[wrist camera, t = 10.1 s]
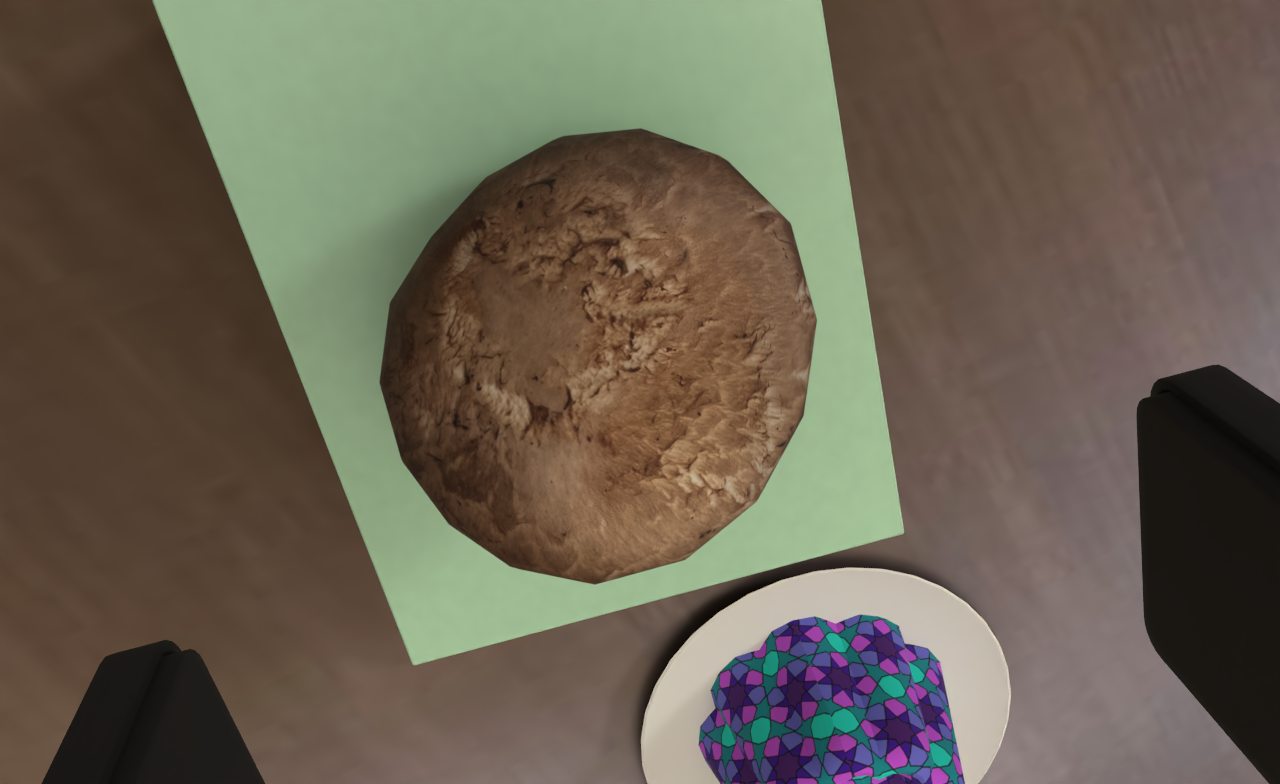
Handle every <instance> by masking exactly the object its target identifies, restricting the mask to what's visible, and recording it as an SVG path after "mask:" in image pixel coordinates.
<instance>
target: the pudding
mask: <svg viewBox="0 0 1280 784" xmlns="http://www.w3.org/2000/svg"><path fill="white" fill-rule="evenodd" d="M1010 699H1011V690H1010V681H1009V672H1008V667H1007V664H1006V661H1005V658H1004V655H1003V652H1002V649H1001V647H1000V644H999V642H998V641H997V639H996V638H995V636H994V634H993V633H992V631H991V630H990V628H989V626H988V625H987V623H986V622H985V621H984V620H983V619H982V618H981V617H980V616H979V615H978V614H977V613H976V612H975V611H974V610H973V609H972V608H971V607H970V606H969V605H968V604H967V603H966V602H965V601H963V600H962V599H960V598H959V597H957V596H956V595H954V594H953V593H951V592H949V591H948V590H946V589H945V588H943V587H941V586H939V585H937V584H934V583H932V582H929V581H927V580H924V579H922V578H919V577H917V576H914V575H910V574H905V573H900V572H895V571H891V570H886V569H874V568H850V567H849V568H840V569H831V570H822V571H814V572H810V573H807V574H803V575H799V576H795V577H791V578H788V579H784V580H780V581H778V582H776V583H773V584H771V585H769V586H766V587H764V588H762V589H759V590H757V591H755V592H752V593H750V594H748V595H746V596H744V597H743V598H741V599H740V600H738V601H736V602H735V603H733V604H731V605H730V606H728V607H726V608H725V609H723V610H722V611H720V612H718V613H717V614H716V615H715V616H714V617H712V618H711V619H710V620H709V621H708V622H706V623H705V624H704V625H703V626H702V627H700V628H699V629H698V630H697V631H696V632H695V633H693V634H692V635H691V636H690V638H689V639H688V640H687V641H686V642H685V643H684V645H683V646H682V647H681V648H680V649H679V650H678V652H677V653H676V654H675V655H674V656H673V657H672V659H671V660H670V662H669V663H668V665H667V667H666V668H665V670H664V672H663V673H662V675H661V677H660V678H659V680H658V682H657V683H656V685H655V687H654V690H653V693H652V695H651V698H650V701H649V703H648V706H647V709H646V712H645V716H644V722H643V729H642V735H641V752H642V767H643V770H644V774H645V777H646V781H647V784H978V783H979V782H980V780H981V779H982V778H983V776H984V775H985V774H986V772H987V771H988V769H989V767H990V765H991V763H992V761H993V759H994V757H995V756H996V754H997V752H998V750H999V748H1000V746H1001V742H1002V739H1003V736H1004V733H1005V729H1006V726H1007V723H1008V718H1009V708H1010Z"/></svg>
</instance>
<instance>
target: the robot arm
mask: <svg viewBox="0 0 1280 784" xmlns="http://www.w3.org/2000/svg"><path fill="white" fill-rule="evenodd" d="M1137 439H1138V466H1139V493H1140V520H1141V547H1142V575H1143V602H1144V620H1145V626H1146V629H1147V633H1148V635H1149V638H1150V640H1151V643H1152V645H1153V646H1154V648H1155V650H1156V652H1157V653H1158V654H1159V656H1160V657H1161V658H1162V659H1163V661H1164V662H1165V663H1166V664H1167V665H1168V666H1169V668H1170V669H1171V670H1172V671H1173V672H1174V673H1175V675H1176V676H1177V677H1178V678H1179V679H1180V680H1181V682H1182V683H1183V684H1184V685H1185V686H1186V687H1187V688H1188V690H1189V691H1190V692H1191V693H1192V694H1193V695H1194V697H1195V698H1196V699H1197V700H1198V701H1199V702H1200V704H1201V705H1202V706H1203V707H1204V708H1205V709H1206V711H1207V712H1208V713H1209V714H1210V715H1211V716H1212V718H1213V719H1214V720H1215V721H1216V722H1217V723H1218V725H1219V726H1220V727H1221V728H1222V729H1223V730H1224V732H1225V733H1226V734H1227V735H1228V736H1229V737H1230V739H1231V740H1232V741H1233V742H1234V743H1235V744H1236V746H1237V747H1238V748H1239V749H1240V750H1241V751H1242V752H1243V754H1244V755H1245V756H1246V757H1247V758H1248V759H1249V761H1250V762H1251V763H1252V764H1253V765H1254V766H1255V768H1256V769H1257V770H1258V771H1259V772H1260V773H1261V775H1262V776H1263V777H1264V778H1265V779H1266V780H1267V782H1268V783H1269V784H1280V404H1279V403H1278V402H1276V401H1275V400H1273V399H1272V398H1270V397H1269V396H1267V395H1266V394H1264V393H1263V392H1261V391H1260V390H1258V389H1257V388H1255V387H1254V386H1253V385H1251V384H1250V383H1248V382H1247V381H1245V380H1244V379H1242V378H1241V377H1239V376H1238V375H1236V374H1235V373H1233V372H1232V371H1230V370H1229V369H1227V368H1225V367H1223V366H1220V365H1211V366H1207V367H1203V368H1200V369H1196V370H1192V371H1188V372H1184V373H1181V374H1177V375H1173V376H1169V377H1165V378H1161V379H1158V380H1157V381H1156V382H1155V383H1154V385H1153V387H1152V390H1151V397H1148V398H1144V399H1142V400H1141V401H1140V402H1139V404H1138V407H1137ZM42 784H265V783H264V781H263V779H262V777H261V775H260V773H259V771H258V769H257V767H256V765H255V763H254V761H253V759H252V757H251V755H250V753H249V751H248V749H247V747H246V745H245V743H244V741H243V739H242V737H241V735H240V733H239V731H238V729H237V727H236V725H235V723H234V721H233V719H232V717H231V715H230V713H229V711H228V709H227V707H226V705H225V703H224V701H223V699H222V697H221V695H220V693H219V691H218V689H217V687H216V685H215V683H214V681H213V679H212V677H211V675H210V673H209V671H208V669H207V667H206V665H205V663H204V661H203V659H202V658H201V656H200V655H199V654H198V653H197V652H196V651H195V650H192V649H189V650H185V651H181V650H180V648H179V647H178V646H177V645H176V644H175V643H173V642H172V641H168V640H164V641H160V642H156V643H152V644H148V645H145V646H141V647H137V648H133V649H129V650H126V651H122V652H118V653H114V654H111V655H109V656H106V657H105V658H104V659H103V661H102V662H101V663H100V665H99V667H98V669H97V671H96V673H95V675H94V678H93V680H92V682H91V684H90V686H89V688H88V690H87V692H86V694H85V696H84V698H83V700H82V702H81V704H80V706H79V708H78V710H77V712H76V714H75V716H74V719H73V721H72V723H71V725H70V727H69V729H68V731H67V733H66V735H65V737H64V739H63V741H62V743H61V745H60V747H59V749H58V751H57V753H56V755H55V757H54V759H53V762H52V764H51V766H50V768H49V770H48V772H47V774H46V776H45V778H44V780H43V782H42Z"/></svg>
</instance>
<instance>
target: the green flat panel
mask: <svg viewBox="0 0 1280 784" xmlns="http://www.w3.org/2000/svg"><path fill="white" fill-rule="evenodd" d="M152 1H153V4H154V7H155V9H156V12H157V14H158V17H159V19H160V22H161V24H162V27H163V29H164V32H165V35H166V37H167V40H168V42H169V45H170V47H171V50H172V52H173V55H174V58H175V60H176V63H177V65H178V68H179V70H180V73H181V75H182V78H183V81H184V83H185V86H186V88H187V91H188V93H189V96H190V98H191V101H192V103H193V106H194V109H195V111H196V114H197V116H198V119H199V121H200V124H201V126H202V129H203V132H204V134H205V137H206V139H207V142H208V144H209V147H210V149H211V152H212V154H213V157H214V160H215V162H216V165H217V167H218V170H219V172H220V175H221V177H222V180H223V183H224V185H225V188H226V190H227V193H228V195H229V198H230V200H231V203H232V205H233V208H234V211H235V213H236V216H237V218H238V221H239V223H240V226H241V228H242V231H243V234H244V236H245V239H246V241H247V244H248V246H249V249H250V251H251V254H252V256H253V259H254V262H255V264H256V267H257V269H258V272H259V274H260V277H261V279H262V282H263V285H264V287H265V290H266V292H267V295H268V297H269V300H270V302H271V305H272V308H273V310H274V313H275V315H276V318H277V320H278V323H279V325H280V328H281V330H282V333H283V336H284V338H285V341H286V343H287V346H288V348H289V351H290V353H291V356H292V359H293V361H294V364H295V366H296V369H297V371H298V374H299V376H300V379H301V381H302V384H303V387H304V389H305V392H306V394H307V397H308V399H309V402H310V404H311V407H312V410H313V412H314V415H315V417H316V420H317V422H318V425H319V427H320V430H321V432H322V435H323V438H324V440H325V443H326V445H327V448H328V450H329V453H330V455H331V458H332V461H333V463H334V466H335V468H336V471H337V473H338V476H339V478H340V481H341V483H342V486H343V489H344V491H345V494H346V496H347V499H348V501H349V504H350V506H351V509H352V512H353V514H354V517H355V519H356V522H357V524H358V527H359V529H360V532H361V535H362V537H363V540H364V542H365V545H366V547H367V550H368V552H369V555H370V557H371V560H372V563H373V565H374V568H375V570H376V573H377V575H378V578H379V580H380V583H381V586H382V588H383V591H384V593H385V596H386V598H387V601H388V603H389V606H390V608H391V611H392V614H393V616H394V619H395V621H396V624H397V626H398V629H399V631H400V634H401V637H402V639H403V642H404V644H405V647H406V649H407V652H408V654H409V657H410V659H411V662H412V664H413V665H418V664H421V663H425V662H429V661H432V660H436V659H440V658H444V657H447V656H451V655H455V654H458V653H462V652H466V651H470V650H473V649H477V648H481V647H484V646H488V645H492V644H496V643H499V642H503V641H507V640H511V639H514V638H518V637H522V636H525V635H529V634H533V633H537V632H540V631H544V630H548V629H551V628H555V627H559V626H563V625H566V624H570V623H574V622H577V621H581V620H585V619H589V618H592V617H596V616H600V615H603V614H607V613H611V612H615V611H618V610H622V609H626V608H629V607H633V606H637V605H641V604H644V603H648V602H652V601H656V600H659V599H663V598H667V597H670V596H674V595H678V594H682V593H685V592H689V591H693V590H696V589H700V588H704V587H708V586H711V585H715V584H719V583H722V582H726V581H730V580H734V579H737V578H741V577H745V576H748V575H752V574H756V573H760V572H763V571H767V570H771V569H774V568H778V567H782V566H786V565H789V564H793V563H797V562H801V561H804V560H808V559H812V558H815V557H819V556H823V555H827V554H830V553H834V552H838V551H841V550H845V549H849V548H853V547H856V546H860V545H864V544H867V543H871V542H875V541H879V540H882V539H886V538H890V537H893V536H897V535H901V534H903V533H904V528H903V521H902V515H901V508H900V502H899V496H898V489H897V483H896V476H895V470H894V463H893V457H892V451H891V444H890V438H889V431H888V425H887V419H886V412H885V406H884V399H883V393H882V387H881V380H880V374H879V367H878V361H877V355H876V348H875V342H874V335H873V329H872V323H871V316H870V310H869V303H868V297H867V290H866V284H865V278H864V271H863V265H862V258H861V252H860V246H859V239H858V233H857V226H856V220H855V214H854V207H853V201H852V194H851V188H850V182H849V175H848V169H847V162H846V156H845V150H844V143H843V137H842V130H841V124H840V117H839V111H838V105H837V98H836V92H835V85H834V79H833V73H832V66H831V60H830V53H829V47H828V41H827V34H826V28H825V21H824V15H823V9H822V2H821V0H152ZM639 128H642V129H645V130H648V131H650V132H653V133H656V134H659V135H662V136H665V137H668V138H671V139H674V140H676V141H679V142H682V143H685V144H688V145H691V146H694V147H697V148H700V149H702V150H705V151H708V152H711V153H714V154H717V155H719V156H721V157H722V158H724V159H726V160H727V161H729V162H730V163H731V164H732V165H733V166H734V167H735V168H736V169H737V170H738V171H739V172H740V173H741V174H742V175H743V176H744V177H745V178H746V179H747V180H748V181H749V182H750V183H751V184H752V185H753V186H754V187H755V188H756V189H757V190H758V191H759V192H760V193H761V194H762V195H763V196H764V197H765V198H766V199H767V200H768V201H769V202H770V203H771V204H772V205H773V206H774V207H775V208H776V209H777V210H778V211H779V212H780V213H781V214H782V215H783V216H784V217H785V218H786V219H787V220H788V221H789V222H790V223H791V226H792V229H793V233H794V237H795V240H796V244H797V248H798V251H799V255H800V259H801V262H802V266H803V270H804V274H805V277H806V281H807V285H808V288H809V292H810V296H811V299H812V303H813V307H814V310H815V314H816V318H817V325H816V332H815V339H814V346H813V353H812V360H811V367H810V374H809V381H808V388H807V395H806V403H805V410H804V416H803V418H802V420H801V422H800V423H799V425H798V427H797V429H796V431H795V433H794V434H793V436H792V438H791V440H790V442H789V444H788V445H787V447H786V449H785V451H784V453H783V455H782V456H781V458H780V460H779V462H778V464H777V466H776V468H775V469H774V471H773V473H772V475H771V477H770V479H769V480H768V482H767V484H766V486H765V488H764V490H763V491H762V493H761V495H760V497H759V499H758V500H757V502H756V503H754V504H753V505H752V506H751V507H750V508H748V509H747V510H746V511H745V512H743V513H742V514H741V515H740V516H739V517H737V518H736V519H735V520H734V521H732V522H731V523H730V524H729V525H728V526H726V527H725V528H724V529H723V530H721V531H720V532H719V533H718V534H717V535H715V536H714V537H713V538H712V539H710V540H709V541H708V542H707V543H706V544H704V545H703V546H702V547H701V548H699V549H698V550H697V551H696V552H695V553H693V554H692V555H691V556H690V557H688V558H687V559H686V560H683V561H680V562H676V563H672V564H669V565H665V566H662V567H658V568H654V569H651V570H647V571H643V572H640V573H636V574H632V575H629V576H625V577H621V578H618V579H614V580H610V581H607V582H603V583H600V584H596V585H594V584H589V583H584V582H579V581H574V580H570V579H565V578H560V577H555V576H550V575H545V574H540V573H535V572H530V571H525V570H520V569H517V568H513V567H510V566H508V565H507V564H505V563H504V562H503V561H501V560H500V559H498V558H497V557H495V556H494V555H492V554H491V553H490V552H488V551H487V550H485V549H484V548H482V547H481V546H479V545H478V544H476V543H475V542H474V541H472V540H471V539H469V538H468V537H466V536H465V535H463V534H462V533H461V532H459V531H458V530H456V529H455V528H453V527H452V526H450V525H449V524H448V523H447V521H446V520H445V519H444V517H443V516H442V514H441V513H440V512H439V510H438V509H437V508H436V506H435V505H434V504H433V502H432V501H431V500H430V498H429V497H428V496H427V494H426V493H425V492H424V490H423V489H422V487H421V486H420V485H419V483H418V482H417V481H416V479H415V478H414V477H413V475H412V474H411V473H410V471H409V470H408V469H407V467H406V466H405V465H404V463H403V462H402V460H401V457H400V453H399V450H398V446H397V443H396V439H395V436H394V432H393V429H392V425H391V422H390V418H389V415H388V411H387V408H386V404H385V401H384V397H383V393H382V390H381V386H380V383H379V381H380V374H381V366H382V358H383V351H384V343H385V335H386V328H387V320H388V312H389V305H390V302H391V300H392V298H393V297H394V295H395V294H396V292H397V290H398V289H399V287H400V286H401V284H402V282H403V281H404V279H405V278H406V276H407V274H408V273H409V271H410V270H411V268H412V266H413V265H414V263H415V262H416V260H417V258H418V257H419V255H420V254H421V252H422V250H423V249H424V247H425V246H426V244H427V242H428V241H429V239H430V238H431V236H432V235H433V234H434V233H435V232H436V231H437V230H438V229H439V228H440V226H441V225H442V224H443V223H444V222H445V221H446V220H447V219H448V218H449V217H450V216H451V214H452V213H453V212H454V211H455V210H456V209H457V208H458V207H459V206H460V205H461V203H462V202H463V201H464V200H465V199H466V198H467V197H468V196H469V195H470V194H471V192H472V191H473V190H474V189H475V188H476V187H477V186H478V185H479V184H480V183H481V182H482V181H483V180H484V179H485V178H486V177H487V176H489V175H491V174H493V173H494V172H496V171H498V170H500V169H502V168H503V167H505V166H507V165H509V164H511V163H512V162H514V161H516V160H518V159H520V158H521V157H523V156H525V155H527V154H529V153H531V152H532V151H534V150H536V149H538V148H540V147H541V146H543V145H545V144H547V143H549V142H550V141H552V140H555V139H557V138H559V137H562V136H569V135H579V134H589V133H599V132H609V131H619V130H629V129H639Z"/></svg>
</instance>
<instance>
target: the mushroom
mask: <svg viewBox="0 0 1280 784" xmlns="http://www.w3.org/2000/svg"><path fill="white" fill-rule="evenodd" d="M816 325H817V318H816V314H815V310H814V307H813V303H812V299H811V296H810V292H809V288H808V285H807V281H806V277H805V274H804V270H803V266H802V262H801V259H800V255H799V251H798V248H797V244H796V240H795V237H794V233H793V229H792V226H791V223H790V222H789V221H788V220H787V219H786V218H785V217H784V216H783V215H782V214H781V213H780V212H779V211H778V210H777V209H776V208H775V207H774V206H773V205H772V204H771V203H770V202H769V201H768V200H767V199H766V198H765V197H764V196H763V195H762V194H761V193H760V192H759V191H758V190H757V189H756V188H755V187H754V186H753V185H752V184H751V183H750V182H749V181H748V180H747V179H746V178H745V177H744V176H743V175H742V174H741V173H740V172H739V171H738V170H737V169H736V168H735V167H734V166H733V165H732V164H731V163H730V162H729V161H727V160H726V159H724V158H722V157H721V156H719V155H717V154H714V153H711V152H708V151H705V150H702V149H700V148H697V147H694V146H691V145H688V144H685V143H682V142H679V141H676V140H674V139H671V138H668V137H665V136H662V135H659V134H656V133H653V132H650V131H648V130H645V129H642V128H639V129H629V130H619V131H609V132H599V133H589V134H579V135H569V136H562V137H559V138H557V139H555V140H552V141H550V142H549V143H547V144H545V145H543V146H541V147H540V148H538V149H536V150H534V151H532V152H531V153H529V154H527V155H525V156H523V157H521V158H520V159H518V160H516V161H514V162H512V163H511V164H509V165H507V166H505V167H503V168H502V169H500V170H498V171H496V172H494V173H493V174H491V175H489V176H487V177H486V178H485V179H484V180H483V181H482V182H481V183H480V184H479V185H478V186H477V187H476V188H475V189H474V190H473V191H472V192H471V194H470V195H469V196H468V197H467V198H466V199H465V200H464V201H463V202H462V203H461V205H460V206H459V207H458V208H457V209H456V210H455V211H454V212H453V213H452V214H451V216H450V217H449V218H448V219H447V220H446V221H445V222H444V223H443V224H442V225H441V226H440V228H439V229H438V230H437V231H436V232H435V233H434V234H433V235H432V236H431V238H430V239H429V241H428V242H427V244H426V246H425V247H424V249H423V250H422V252H421V254H420V255H419V257H418V258H417V260H416V262H415V263H414V265H413V266H412V268H411V270H410V271H409V273H408V274H407V276H406V278H405V279H404V281H403V282H402V284H401V286H400V287H399V289H398V290H397V292H396V294H395V295H394V297H393V298H392V300H391V302H390V305H389V312H388V320H387V328H386V335H385V343H384V351H383V358H382V366H381V374H380V381H379V383H380V386H381V390H382V393H383V397H384V401H385V404H386V408H387V411H388V415H389V418H390V422H391V425H392V429H393V432H394V436H395V439H396V443H397V446H398V450H399V453H400V457H401V460H402V462H403V463H404V465H405V466H406V467H407V469H408V470H409V471H410V473H411V474H412V475H413V477H414V478H415V479H416V481H417V482H418V483H419V485H420V486H421V487H422V489H423V490H424V492H425V493H426V494H427V496H428V497H429V498H430V500H431V501H432V502H433V504H434V505H435V506H436V508H437V509H438V510H439V512H440V513H441V514H442V516H443V517H444V519H445V520H446V521H447V523H448V524H449V525H450V526H452V527H453V528H455V529H456V530H458V531H459V532H461V533H462V534H463V535H465V536H466V537H468V538H469V539H471V540H472V541H474V542H475V543H476V544H478V545H479V546H481V547H482V548H484V549H485V550H487V551H488V552H490V553H491V554H492V555H494V556H495V557H497V558H498V559H500V560H501V561H503V562H504V563H505V564H507V565H508V566H510V567H513V568H517V569H520V570H525V571H530V572H535V573H540V574H545V575H550V576H555V577H560V578H565V579H570V580H574V581H579V582H584V583H589V584H594V585H596V584H600V583H603V582H607V581H610V580H614V579H618V578H621V577H625V576H629V575H632V574H636V573H640V572H643V571H647V570H651V569H654V568H658V567H662V566H665V565H669V564H672V563H676V562H680V561H683V560H686V559H687V558H688V557H690V556H691V555H692V554H693V553H695V552H696V551H697V550H698V549H699V548H701V547H702V546H703V545H704V544H706V543H707V542H708V541H709V540H710V539H712V538H713V537H714V536H715V535H717V534H718V533H719V532H720V531H721V530H723V529H724V528H725V527H726V526H728V525H729V524H730V523H731V522H732V521H734V520H735V519H736V518H737V517H739V516H740V515H741V514H742V513H743V512H745V511H746V510H747V509H748V508H750V507H751V506H752V505H753V504H754V503H756V502H757V500H758V499H759V497H760V495H761V493H762V491H763V490H764V488H765V486H766V484H767V482H768V480H769V479H770V477H771V475H772V473H773V471H774V469H775V468H776V466H777V464H778V462H779V460H780V458H781V456H782V455H783V453H784V451H785V449H786V447H787V445H788V444H789V442H790V440H791V438H792V436H793V434H794V433H795V431H796V429H797V427H798V425H799V423H800V422H801V420H802V418H803V416H804V410H805V403H806V395H807V388H808V381H809V374H810V367H811V360H812V353H813V346H814V339H815V332H816Z"/></svg>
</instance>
